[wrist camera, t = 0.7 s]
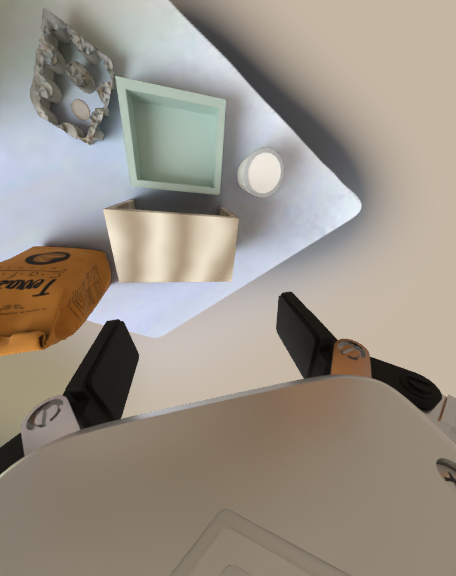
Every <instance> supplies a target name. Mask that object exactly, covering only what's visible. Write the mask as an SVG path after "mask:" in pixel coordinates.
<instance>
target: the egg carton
mask: <svg viewBox="0 0 456 576" xmlns="http://www.w3.org/2000/svg"><path fill="white" fill-rule="evenodd" d="M41 30H42V35H41V39H40V40H39V43H40V46H39V48H38V49H37V50H36V64H35V68H34V78H33V82H32V85H31V89H30V97H31V100H32V103H33V105H34V107H35V109H36V111H37V113H38V115H39V116H40V117H42V118H43V119H45V120H47V121H49V122H50V123H52V124H53V125H55V126H56V127H58V128H61V129H62V130H64V131H65V132H66V133H67V134H69V135H71V136H72V137H74V138H75V139H77V138H78V139H80V140H82V141H83V142H85V143H87V144H89V145H91V144H92V145H93V143H94V142H95V141H97V140H100V141H102V140H103V138H104V133H103V132H102V131H101V130H100V128H99V123H101V122H102V118H103V116H107V117H109V108H108V104H109V99H110V93H111V90H115V87H116V81H115V80H114V79H113V76H114V71H113V61H112V60H111V59H109V58H108V57H107V56H105V55H104V54H103V53H102V52H100V51H99V50H98V49H97V48H96V47H94V46H93V45H92V44H91V43H89V42H88V41H87V40H86V39H84V38H83V37H82V36H81V35H79V34H78V33H77V32H76V31H74V30H73V29H72V28H71V27H70V26H68V25H67V24H65V23H64V22H63V21H62V20H60V19H59V18H58V17H57V16H55V15H54V14H53V13H51V12H50V11H48V10H47V9H45V8H44V9H43V15H42V26H41ZM70 40H72V42H73V43H74V44H75V45H76V47H77V49H78V50H79V51H80V53H81V54H82V55H83V56H84V57H85V59H86V60H87V61H88V62H90V63H91V64H98V63H99V62H100V61H101V59H102V60H104V65H105V67H106V69H107V71H108V72H109V74H110V75H111V81H110V83H109V82H107V83H106V82H102V83H101V84H100V85H99V86H98V87H97V88H96V87H95V81H94V79H93V77H92V76H91V74H90V73H89V72H88V71H87V70H86V69H85V68H84V67H83V66H82V65H81V64H80V63H78V62H77V61H74V62H69V63H68V64H67V65H66V61H65V59H64V57H63V56H62V54H61V53H60V52H59V51H58V50H57V48H58V41H61V42H65V43H67V42H69V41H70ZM66 70H67V73H68V75H69V78H70V80H71V81H72V82H73V83H74V84H75V85H76V86H78V87H79V88H80V89H81V90H82V91H84V92H85V93H88V94H91V93H93V92H94V91H95V88H96V90H97V92H98V94H99V97H100V99H101V101H102V102H103V103H104V104H105V106H104V108H96V109H95V111H94V112H92V116H91V117H90V110H89V108H88V106H87V105H86V103H85V102H83V101H82V100H79V99H76V100H74V101H73V102H72V104H71V107H72V111H73V113H74V114H75V116H76V117H77V118H79V119H81V120H87V119H89V117H90V121H91V126H90V127H89V130H88V134H87V136H86V137H85V135H84V133H83V131H82V130H81V129H80V128H79V127H77V126H75V125H73V124H71V123H69V122H63V123H61V124H60V125H59V122H58V119H57V117H56V116H55V115H54V113H52V112H51V111H50V104H51V103H54V104H59V103H60V102H61V101H62V93H61V90H60V89H59V87H58V86H57V85H56V84H55V83H54V81H53V79H54V73H57V74H64V73H65V72H66Z"/></svg>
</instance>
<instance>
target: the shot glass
mask: <svg viewBox="0 0 456 576" xmlns="http://www.w3.org/2000/svg"><path fill="white" fill-rule="evenodd" d="M283 176H284V164H283V160H282V158H281V156H280V155H279V153H278V152H276V151H275V150H274V149H272V148H265V147H263V148H260V149H258V150H256V151H254V152H253V153H252V154H250V155H249V156H248V157H247V158H245V159H244V160H243V161H242V162H241V163H240V165H239V167H238V170H237V180H238V184H239V185H240V187H241V188H242V189H244V190H245V191H247V192H249V193H250V194H252V195H254V196H256V197H259V198H266V197H268V196H270V195H272V194H273V193H274V192H276V191H277V190H278V189H279V187H280V185H281V183H282V181H283Z"/></svg>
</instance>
